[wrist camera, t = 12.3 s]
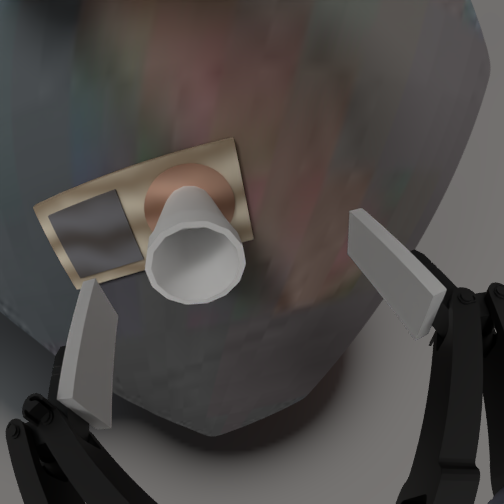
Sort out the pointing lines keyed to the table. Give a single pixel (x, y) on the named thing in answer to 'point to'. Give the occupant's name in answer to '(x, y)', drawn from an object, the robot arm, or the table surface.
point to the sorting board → (137, 209)
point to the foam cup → (193, 249)
